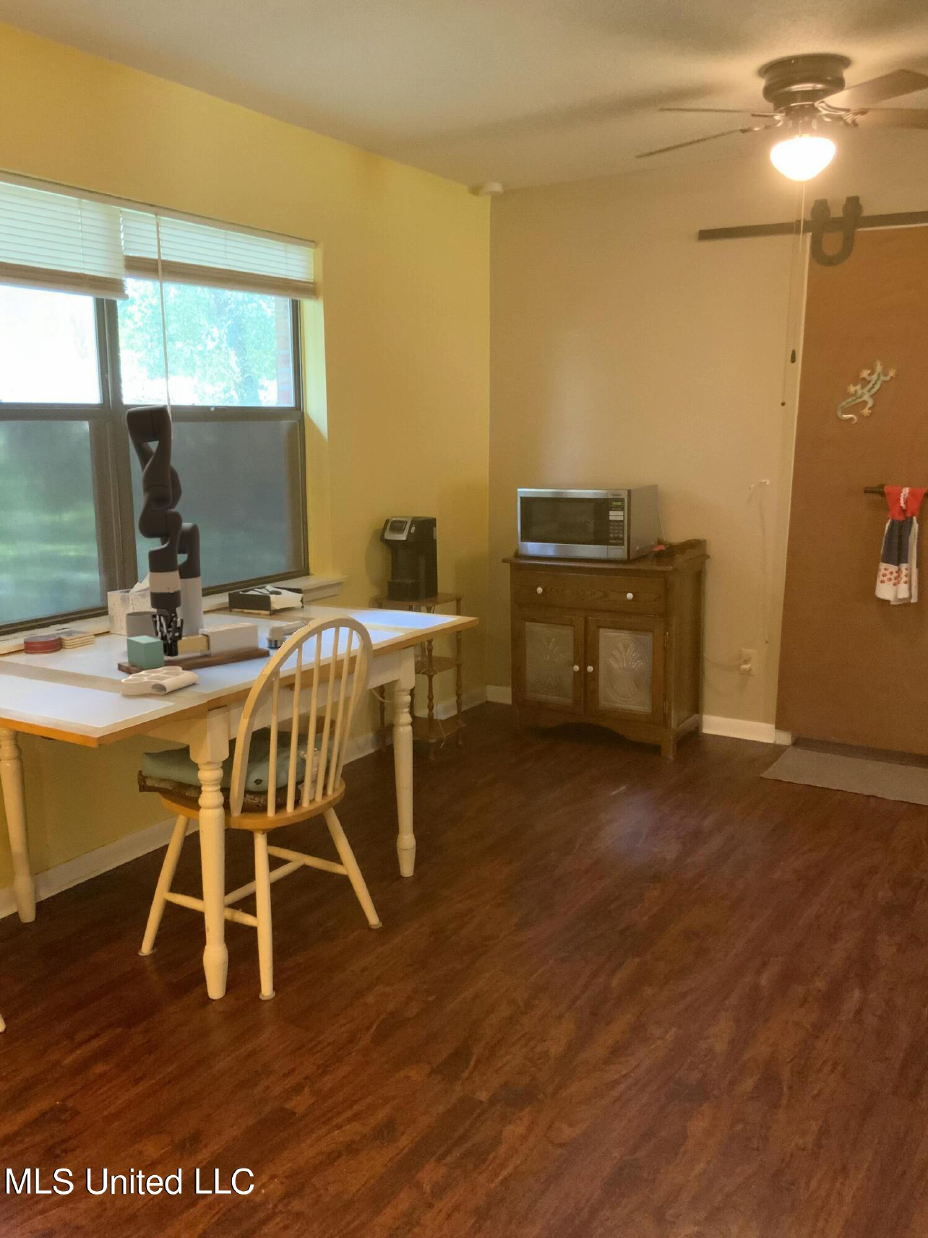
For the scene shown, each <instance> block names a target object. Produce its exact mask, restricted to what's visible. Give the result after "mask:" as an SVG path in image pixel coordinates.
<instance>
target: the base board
mask: <svg viewBox="0 0 928 1238" xmlns="http://www.w3.org/2000/svg"><path fill="white" fill-rule="evenodd" d="M269 656H271V653H270V649H268V648H263V647H260V646H259V649H253V650H247V651H241V652H235V653H229V654H223V655H217V656H208V655H205V654H202V653H200V650H199V651H193V652H187V653H181V654H178V656H175V657H170V656H168V657H167V656H164V666H162V667H166V666H178V667H181V668H182V671H189V670H194V669H193V668H195V669H201V668H206V667H207V668H208V667H212V666H217V665H223V664H224V665H225V664H229V663H234V662H240V661H245V660H253V659H257V658H258V659H259V658H264V657H269ZM200 667H201V668H200ZM158 668H161V667H156V668H150V669H143V668H140V667H138V666H135V665H132V664H129V663H128V661H123V662H117V670H120V671H122V670H123V671H122V672H125V673H128V674H130V673H131V674H130V675H132V674H137V673H140V672H142V671H146V670H152V669H158Z"/></svg>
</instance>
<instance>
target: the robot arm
mask: <svg viewBox="0 0 928 1238" xmlns="http://www.w3.org/2000/svg"><path fill="white" fill-rule="evenodd" d="M125 424H126V429H127V432H128V435H129V438H130V440H131V443H132V446H133V449H134V451H135V453H136V456H137V459H138V461H139V465H140V469H141V472H142V481H141V482H142V493H143V503H142V507H141V511H140V515H139V518H138V531H139V533H140V535H141V536H142V537H144V538H145V539H159V540H160V545H161V546H157V547H153V548H151V549H149V550H148V555H147V556H148V570H149V573H148V574H149V576H148V584H149V599H150V608H151V609H153V610H155V612H156V614H151V618H152V622H153V627H154V631H155V635H156V636H158V638H159V640H162V639H168V642H169V643H168V650H169V656H170V657H175V656H178V646H177V641H179V640H182V637H188V636H195V635H199V629H203V628H205V623H204V608H203V607H204V605H203V592H202V591H203V590H202V575H201V549H200V548H201V545H200V544H201V543H200V541H201V539H200V538H201V537H200V529H199V527H198V525H197V523H195V522H183V517H182V515H181V513H180V512H179V511H178V510H176V508H177V506H178V504H179V502H180V501H181V497H182V492H183V488H182V484H181V481H180V477H179V474H178V471H177V469H176V468H175V467H174V466H173V465H172V464H171V460H172V440H173V439H172V438H173V433H172V432H173V428H172V421H171V417H170V413H169V410H168V409H167V407H166V406H164V405H161V404H158V405H148V406H140V407H134V408H129V409H128V410H127V411H126V413H125ZM154 442H158V443H157V446H156V449H155V451H154V449H153V448H152V447H151V445H150V444H149V443H154ZM178 555H187V556H186V559H185V560H184V561H182V562H181V563H179V564H178V561H179V559H178Z"/></svg>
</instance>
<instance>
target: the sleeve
mask: <svg viewBox="0 0 928 1238" xmlns="http://www.w3.org/2000/svg"><path fill="white" fill-rule="evenodd" d="M258 630H259V629H258V624H256V623H250V622H248V621H247V622H237V623H231V624H224V625H217V626H211V627H204V628H203V629H199V635H202V634H206V635H208V639H209V649H205V650H200V653H202V654H205V655H208V656H217V655H223V654H229V653H235V652H241V651H247V650H253V649H259V647H260V646H259V631H258Z"/></svg>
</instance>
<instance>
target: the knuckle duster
mask: <svg viewBox="0 0 928 1238" xmlns="http://www.w3.org/2000/svg"><path fill="white" fill-rule="evenodd" d="M199 680H200V678H199V676H198V674H196V673H194V672H193V671H189V670H184V671H182V668H181V667H178V666H166V667H161V668H158V669H152V670H146V671H142V672H140V673H137V674H130V675H129V676H128V677H127V678H124V679H121V681H120V685H121V687H120V688H121V695H124V696H141V695H145V694H156V695H166V694H167V693H170V692H173V691H177V690H180V688H181V689H182V688H185V687H188V686H190V685H194V683H195V684H197V683H198V682H199ZM163 691H165V692H163Z"/></svg>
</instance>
